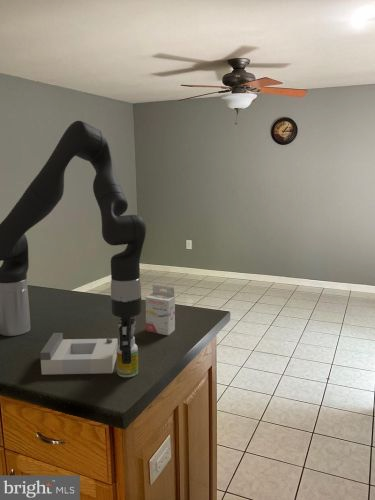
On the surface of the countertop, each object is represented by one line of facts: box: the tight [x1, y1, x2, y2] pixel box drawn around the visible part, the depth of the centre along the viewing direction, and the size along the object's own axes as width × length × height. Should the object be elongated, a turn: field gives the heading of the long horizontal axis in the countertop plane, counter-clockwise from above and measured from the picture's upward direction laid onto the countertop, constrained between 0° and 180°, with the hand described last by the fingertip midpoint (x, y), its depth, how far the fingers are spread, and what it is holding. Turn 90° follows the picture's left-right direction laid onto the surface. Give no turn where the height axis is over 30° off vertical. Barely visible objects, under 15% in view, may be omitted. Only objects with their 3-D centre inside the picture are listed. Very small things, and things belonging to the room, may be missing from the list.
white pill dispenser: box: [39, 332, 119, 375], centre depth 114 cm, size 18×13×6 cm
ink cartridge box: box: [145, 284, 176, 336], centre depth 136 cm, size 9×5×15 cm, turn 65°
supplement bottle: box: [116, 335, 139, 378], centre depth 108 cm, size 5×5×10 cm
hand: (128, 355), depth 108 cm, fingers open, 8 cm apart
